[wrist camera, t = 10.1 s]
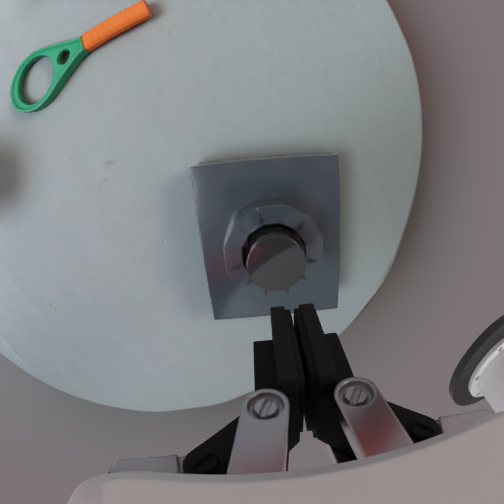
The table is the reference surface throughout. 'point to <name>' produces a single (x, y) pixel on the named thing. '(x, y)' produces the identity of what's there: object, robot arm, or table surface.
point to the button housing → (268, 215)
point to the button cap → (275, 259)
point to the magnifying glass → (74, 54)
